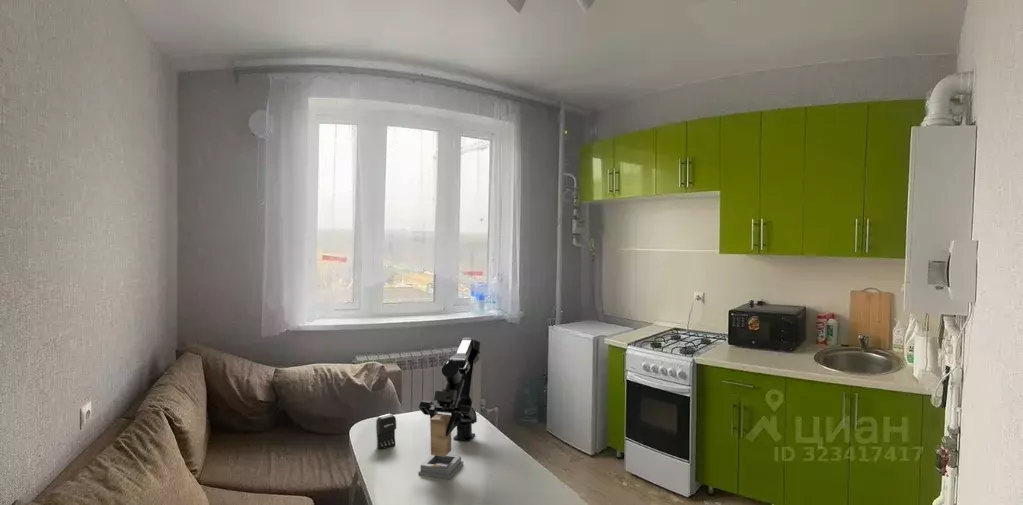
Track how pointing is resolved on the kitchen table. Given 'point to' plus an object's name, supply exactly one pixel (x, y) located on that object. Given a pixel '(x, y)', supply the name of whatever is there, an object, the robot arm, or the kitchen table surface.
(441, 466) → the square gray tray
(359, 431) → the kitchen table surface
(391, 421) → the battery charger
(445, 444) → the tall cardboard box
